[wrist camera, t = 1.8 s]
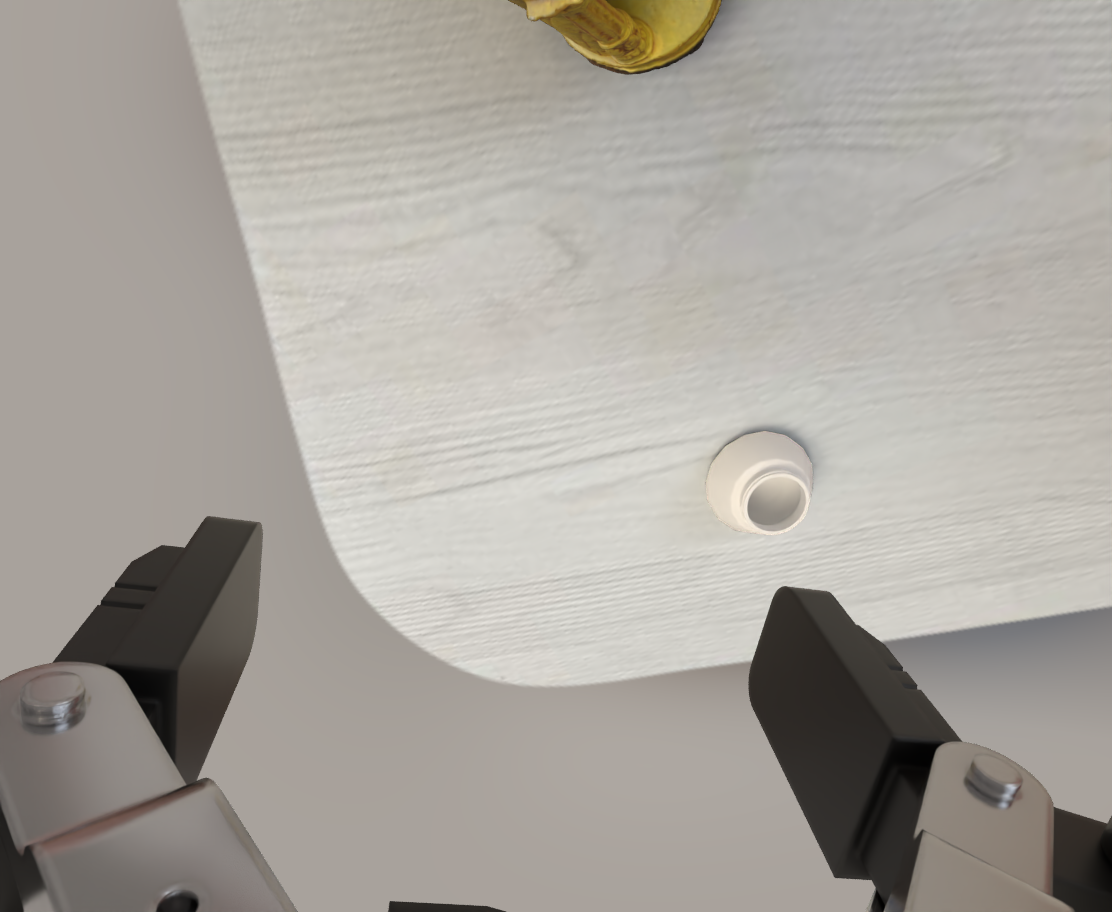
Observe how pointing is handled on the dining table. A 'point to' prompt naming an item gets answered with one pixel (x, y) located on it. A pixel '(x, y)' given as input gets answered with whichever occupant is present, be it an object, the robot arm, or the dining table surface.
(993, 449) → the dining table surface
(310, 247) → the dining table surface
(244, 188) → the dining table surface
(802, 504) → the white jar
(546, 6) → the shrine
